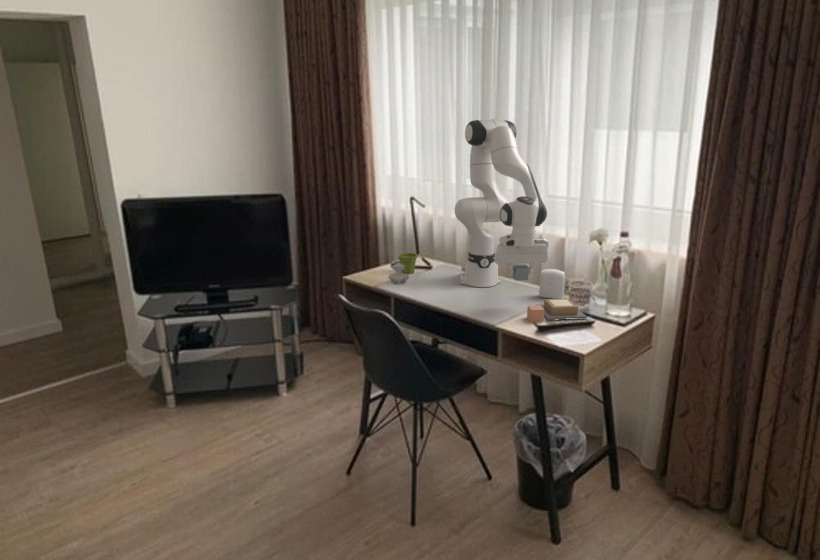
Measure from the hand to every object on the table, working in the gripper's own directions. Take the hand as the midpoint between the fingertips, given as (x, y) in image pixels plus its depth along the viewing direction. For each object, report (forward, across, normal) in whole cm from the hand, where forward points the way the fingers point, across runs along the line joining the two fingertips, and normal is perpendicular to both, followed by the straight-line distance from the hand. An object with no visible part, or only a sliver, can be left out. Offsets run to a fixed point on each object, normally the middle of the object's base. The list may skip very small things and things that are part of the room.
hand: (520, 273), depth 235 cm
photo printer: (+15, -18, -11) cm, 26 cm away
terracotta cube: (+14, -3, +14) cm, 20 cm away
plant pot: (+16, +38, -54) cm, 68 cm away
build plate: (+14, -15, +8) cm, 22 cm away
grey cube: (+2, 0, 0) cm, 2 cm away
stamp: (+16, +44, -38) cm, 61 cm away
